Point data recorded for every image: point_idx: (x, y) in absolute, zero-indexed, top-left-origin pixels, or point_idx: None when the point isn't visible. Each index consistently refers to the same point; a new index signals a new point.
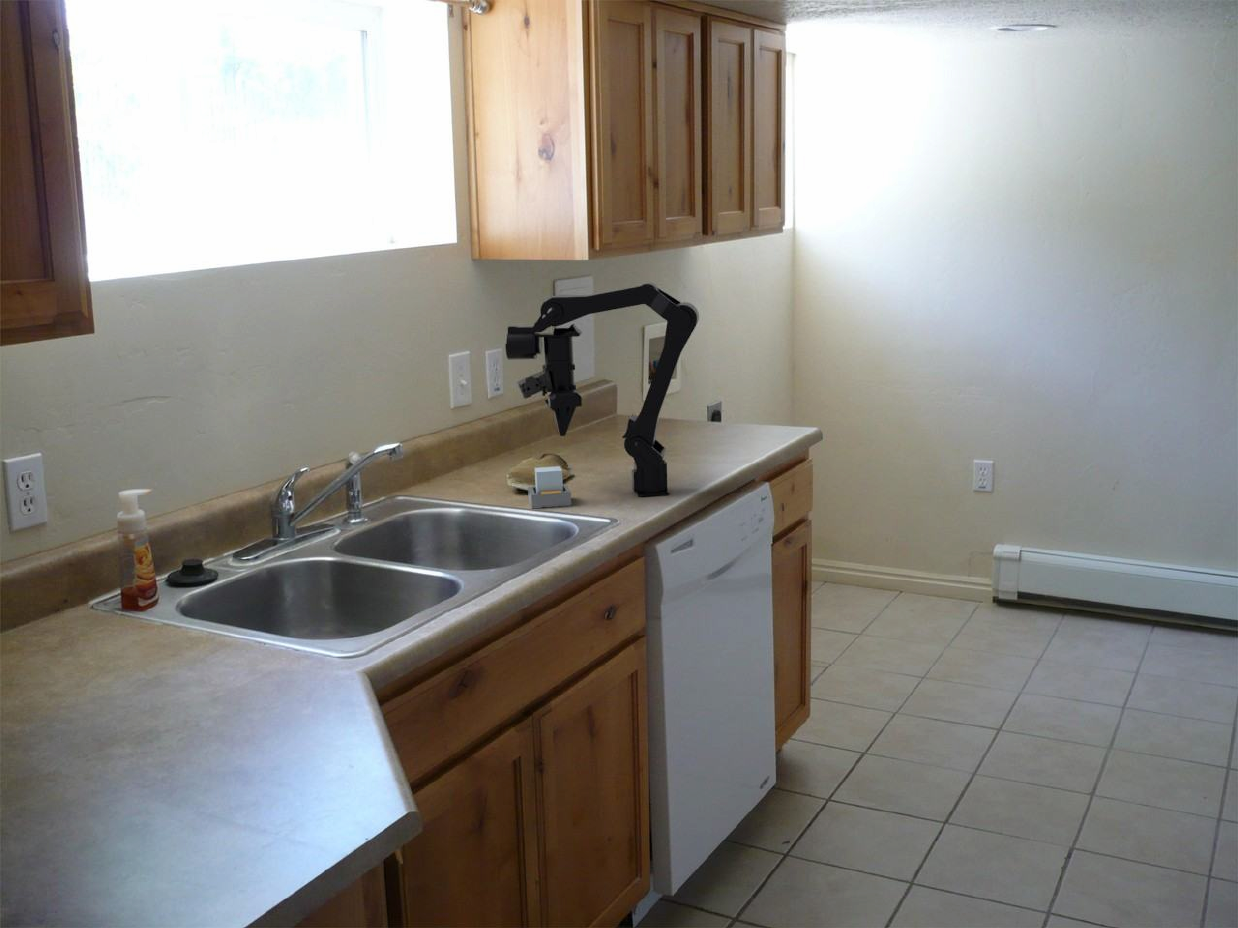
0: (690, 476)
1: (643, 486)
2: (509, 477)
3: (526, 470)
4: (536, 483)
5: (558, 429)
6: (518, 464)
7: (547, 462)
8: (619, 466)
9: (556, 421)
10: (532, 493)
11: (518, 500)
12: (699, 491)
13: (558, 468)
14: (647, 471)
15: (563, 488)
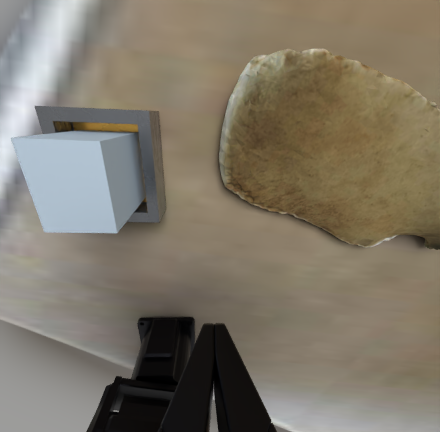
0: (253, 381)
1: (145, 339)
2: (296, 59)
3: (362, 136)
4: (75, 134)
5: (203, 352)
6: None
7: (428, 209)
8: (377, 319)
9: (226, 407)
10: (54, 113)
11: (167, 81)
12: None
13: (78, 225)
14: (132, 374)
15: (144, 209)
